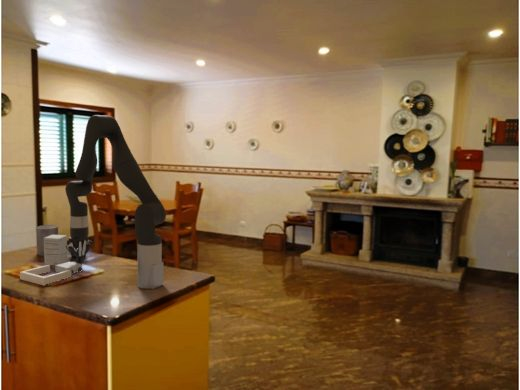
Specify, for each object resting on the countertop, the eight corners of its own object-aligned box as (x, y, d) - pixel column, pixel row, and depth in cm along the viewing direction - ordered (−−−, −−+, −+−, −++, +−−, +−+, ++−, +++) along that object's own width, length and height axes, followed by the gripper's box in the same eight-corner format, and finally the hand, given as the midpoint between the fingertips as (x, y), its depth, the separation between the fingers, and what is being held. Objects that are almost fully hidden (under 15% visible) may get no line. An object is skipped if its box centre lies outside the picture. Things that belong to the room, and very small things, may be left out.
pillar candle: (48, 250, 213) (47, 221, 212) (63, 252, 210) (62, 223, 209) (32, 254, 204) (31, 225, 202) (48, 256, 201) (47, 226, 199)
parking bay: (71, 277, 172) (71, 270, 171) (43, 285, 160) (43, 278, 160) (48, 271, 178) (48, 264, 178) (20, 279, 167) (19, 272, 167)
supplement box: (52, 260, 195) (52, 234, 194) (68, 261, 195) (67, 235, 193) (43, 264, 188) (43, 237, 186) (59, 265, 187) (59, 238, 186)
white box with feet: (84, 270, 181) (84, 264, 181) (69, 275, 174) (68, 268, 174) (70, 267, 185) (70, 260, 185) (54, 271, 178) (54, 265, 178)
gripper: (72, 229, 174) (73, 268, 176) (97, 224, 186) (97, 261, 188) (60, 227, 178) (61, 266, 180) (85, 222, 189) (86, 259, 192)
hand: (80, 263), depth 184 cm, fingers closed
